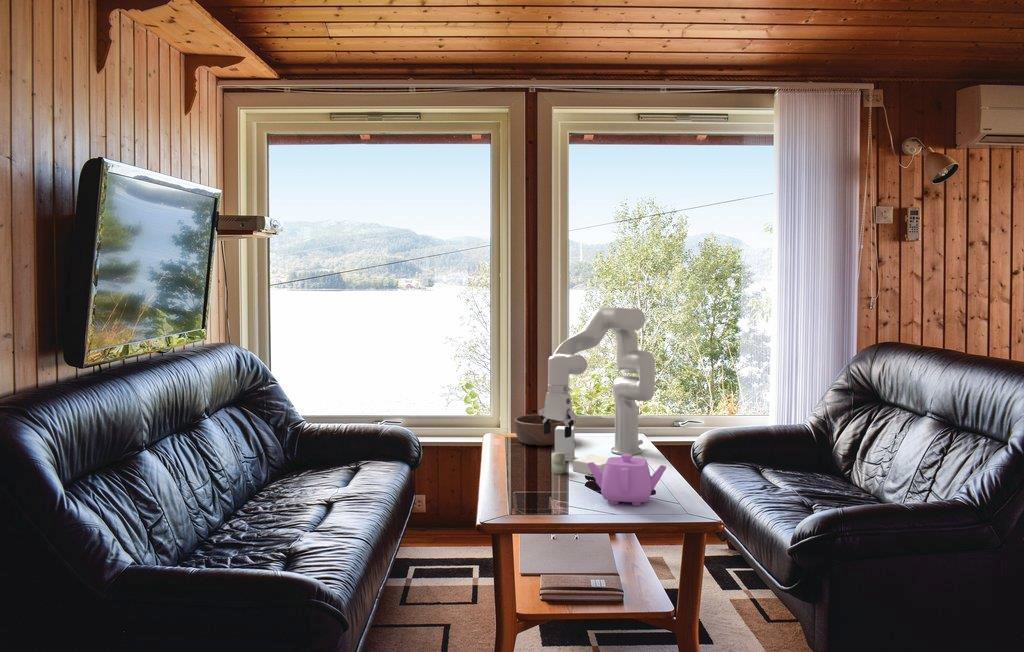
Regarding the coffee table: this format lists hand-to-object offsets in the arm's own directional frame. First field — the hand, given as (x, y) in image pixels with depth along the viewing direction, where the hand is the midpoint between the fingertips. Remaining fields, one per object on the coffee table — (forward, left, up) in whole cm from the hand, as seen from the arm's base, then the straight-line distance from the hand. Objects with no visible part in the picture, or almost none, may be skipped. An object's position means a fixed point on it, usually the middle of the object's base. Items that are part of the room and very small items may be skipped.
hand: (557, 435), depth 276 cm
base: (-12, +9, -14) cm, 20 cm away
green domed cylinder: (-1, 0, -14) cm, 14 cm away
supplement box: (-19, -11, -14) cm, 26 cm away
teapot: (+13, +39, -14) cm, 44 cm away
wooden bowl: (-37, -38, -14) cm, 55 cm away
